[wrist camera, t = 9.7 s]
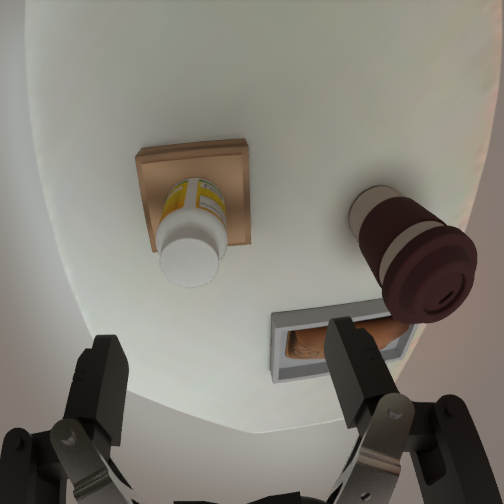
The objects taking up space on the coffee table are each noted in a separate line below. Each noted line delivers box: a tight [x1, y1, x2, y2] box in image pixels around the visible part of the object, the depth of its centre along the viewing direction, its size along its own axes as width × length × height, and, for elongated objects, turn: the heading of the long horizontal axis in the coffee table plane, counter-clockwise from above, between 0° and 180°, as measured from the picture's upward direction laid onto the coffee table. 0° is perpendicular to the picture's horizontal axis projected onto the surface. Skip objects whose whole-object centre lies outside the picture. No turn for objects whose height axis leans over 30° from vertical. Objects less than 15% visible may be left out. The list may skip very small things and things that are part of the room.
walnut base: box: [135, 139, 251, 252], centre depth 31 cm, size 10×10×4 cm
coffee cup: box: [349, 186, 477, 324], centre depth 30 cm, size 10×10×15 cm
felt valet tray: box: [270, 298, 418, 383], centre depth 46 cm, size 13×23×3 cm, turn 91°
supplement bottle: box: [155, 178, 228, 288], centre depth 25 cm, size 5×5×10 cm
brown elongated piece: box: [285, 315, 409, 360], centre depth 44 cm, size 18×7×7 cm
